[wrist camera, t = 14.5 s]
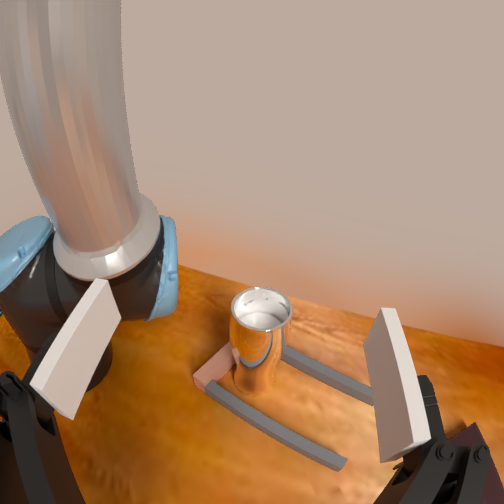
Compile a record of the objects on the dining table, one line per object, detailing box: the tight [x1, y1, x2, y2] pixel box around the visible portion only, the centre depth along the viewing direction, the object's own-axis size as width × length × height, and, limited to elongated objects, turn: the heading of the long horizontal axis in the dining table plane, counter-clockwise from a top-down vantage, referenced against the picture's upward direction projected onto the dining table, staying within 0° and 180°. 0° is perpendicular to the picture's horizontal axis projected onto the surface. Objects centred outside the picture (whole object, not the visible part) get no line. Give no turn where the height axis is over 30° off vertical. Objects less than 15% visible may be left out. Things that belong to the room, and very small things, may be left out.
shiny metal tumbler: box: [229, 287, 293, 396], centre depth 33 cm, size 7×7×15 cm
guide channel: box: [193, 341, 374, 471], centre depth 34 cm, size 23×13×3 cm, turn 54°
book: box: [449, 422, 504, 504], centre depth 17 cm, size 12×19×3 cm, turn 9°
